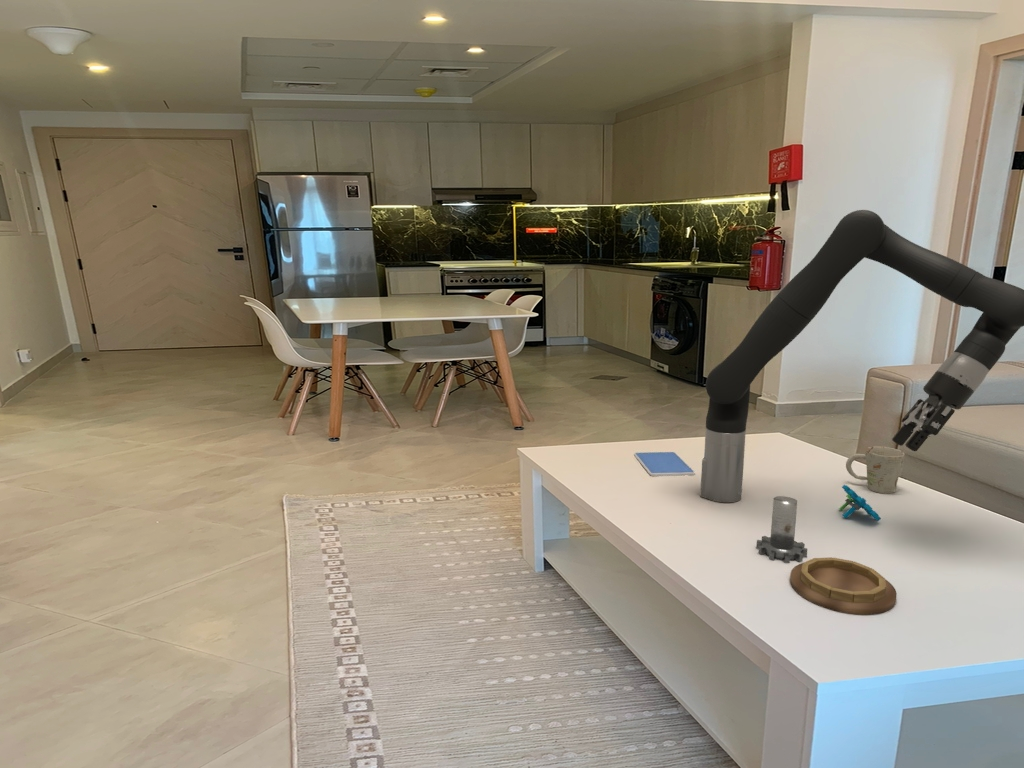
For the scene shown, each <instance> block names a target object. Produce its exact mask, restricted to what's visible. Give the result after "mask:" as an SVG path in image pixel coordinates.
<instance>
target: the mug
mask: <svg viewBox="0 0 1024 768" xmlns="http://www.w3.org/2000/svg"><path fill="white" fill-rule="evenodd" d="M904 459H905V452H903V450H900V449H897V448H892V447H888V446H869V447H867V448H866V449H865V454H864V453H855V454H852V455H851V456H849V457H848V459H847V460H846V461H845V468H846V472H847V473H848V474H849V475H850V476H851V477H853V478H854V479H855V480H862V481H867V483H866V485H867V488H868V490H869V491H871V490H872V492H875V493H879V494H893V493H895V491H896V488H897V485H898V481H899V478H900V477H899V476H900V473H901V469H902V467H903V463H904ZM856 460H866V461H865V462H866V476H863V475H858V474H856V473H855V472H854V470H853V468H852V464H853V462H854V461H856Z"/></svg>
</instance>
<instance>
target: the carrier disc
mask: <svg viewBox="0 0 1024 768" xmlns="http://www.w3.org/2000/svg"><path fill="white" fill-rule="evenodd" d="M789 582H790V583H789V584H790V586H791V587H792V589H793V590H794V591H795V592H796V593H797V594H798V595H799V596H801V597H802V598H803V599H805V600H807V601H808V602H811V603H812V604H815V605H817V606H819V607H822V608H825V609H828V610H831V611H834V612H840V613H844V614H852V615H862V616H866V615H868V616H869V615H879V614H882V613H883V614H884V613H886V612H888V611H890V610H892V609H893V608H894V607H895V605H896V604H897V603H896V602H897V591H896V588H895V586H894V585H893V584H892V583H891V582H890V581H889V580H887V579H886V578H885V577H884V576H883V575H882V574H880V573H879V572H877V570H876V569H874V568H872V567H869V566H866V565H864V564H862V563H859V562H857V561H854V560H849V559H844V558H837V557H814V558H812V559H809V560H806V561H804V562H802V563H798V564H797V565H795V566H794V567H793V568H792V569H791V571H790V577H789Z"/></svg>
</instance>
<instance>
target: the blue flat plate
mask: <svg viewBox="0 0 1024 768" xmlns="http://www.w3.org/2000/svg"><path fill="white" fill-rule="evenodd" d="M633 456H634V458H636V459H637V461H638V462H639V463H640V464H641V466H642V467H643V468H644V470H645V471H646V472H647V473H648V475H649V476H651V477H681V476H683V477H684V476H685V475H688V476H694V475H696V472H695V471H694V470H693V469H692V467H690V466H689V465H688V464H687V463H686V462H685V461H684V460H683V458H681V457H680V456H679V455H678V454H677V453H676V452H674V451H665V452H664V451H662V452H661V451H660V452H657V451H655V452H650V451H649V452H635V453H634V454H633Z"/></svg>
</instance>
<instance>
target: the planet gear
mask: <svg viewBox="0 0 1024 768" xmlns="http://www.w3.org/2000/svg"><path fill="white" fill-rule="evenodd" d="M772 501H773V502H772V515H771V526H770V527H771V529H770V536H767V535H763V536H761V539H756V547H755V548H756V549H757V550H758V554H760V555H761V556H762V555H765V556H767V557H768V559H769V560H771V561H775V560H778V561H783V562H784V563H785V564H787V563H788V564H790V562H791V561H796V562H799V563H800V562H803V558H807V557H808V548H806V547H805V546H806V545H805V543H804V542H803V541H802V542H801V541H799V542H798V541H796V540H795V536H796V535H795V534H796V523H797V512H798V500H797V499H796V498H793V497H791V496H785V495H781V496H780V495H779V496H775V497H773V500H772Z"/></svg>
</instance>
